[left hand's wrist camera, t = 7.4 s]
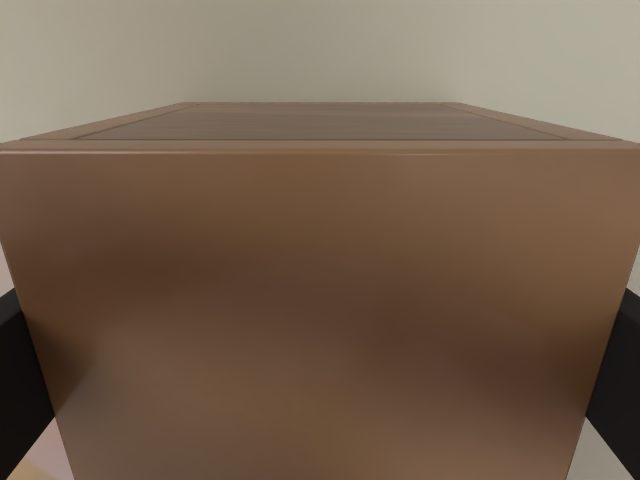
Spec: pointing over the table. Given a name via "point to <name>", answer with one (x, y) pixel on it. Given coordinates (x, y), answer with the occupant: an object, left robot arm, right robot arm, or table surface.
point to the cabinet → (320, 288)
